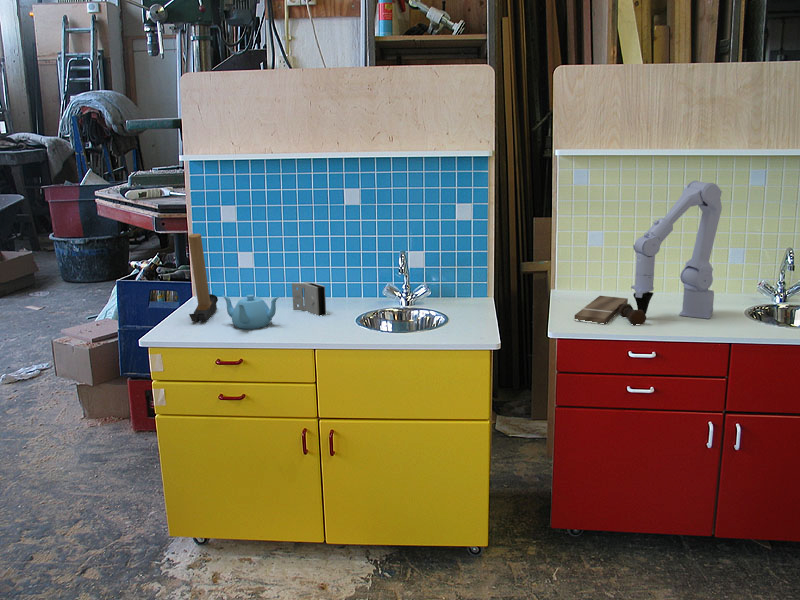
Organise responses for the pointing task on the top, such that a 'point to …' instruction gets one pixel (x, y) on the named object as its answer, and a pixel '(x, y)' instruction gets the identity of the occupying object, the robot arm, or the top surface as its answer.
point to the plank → (601, 309)
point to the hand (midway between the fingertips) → (642, 314)
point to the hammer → (201, 281)
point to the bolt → (632, 314)
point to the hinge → (309, 297)
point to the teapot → (251, 312)
